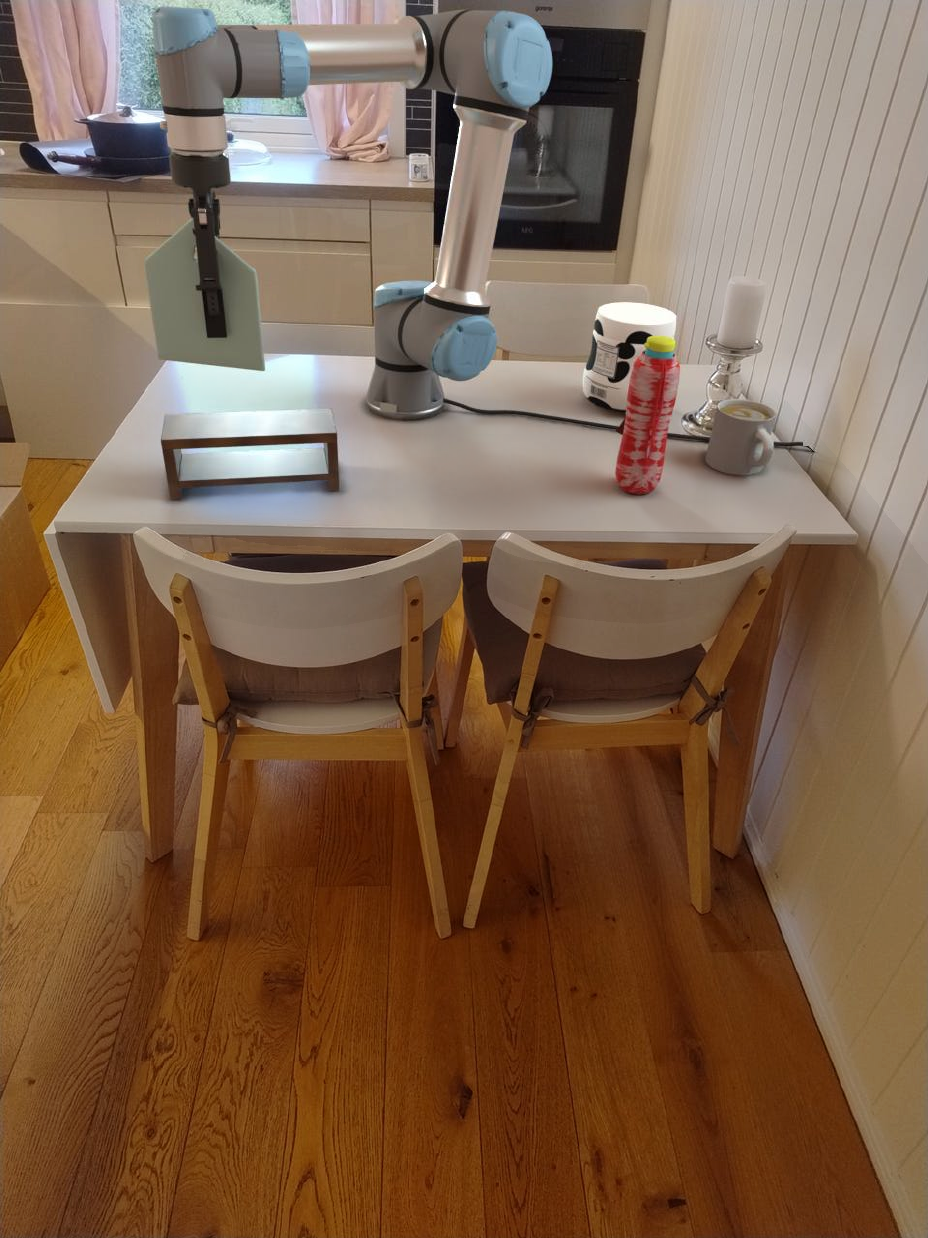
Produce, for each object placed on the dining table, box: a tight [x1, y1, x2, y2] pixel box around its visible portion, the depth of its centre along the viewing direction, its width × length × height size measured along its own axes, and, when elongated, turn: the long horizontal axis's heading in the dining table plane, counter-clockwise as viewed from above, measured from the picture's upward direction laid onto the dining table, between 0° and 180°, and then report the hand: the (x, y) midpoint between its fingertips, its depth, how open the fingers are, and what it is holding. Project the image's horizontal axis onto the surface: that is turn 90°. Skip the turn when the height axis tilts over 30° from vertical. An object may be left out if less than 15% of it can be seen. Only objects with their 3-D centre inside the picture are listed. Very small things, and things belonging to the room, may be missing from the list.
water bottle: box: [614, 335, 681, 495], centre depth 140 cm, size 12×8×25 cm, turn 0°
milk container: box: [582, 301, 677, 414], centre depth 171 cm, size 17×17×18 cm
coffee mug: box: [705, 398, 777, 476], centre depth 151 cm, size 13×10×10 cm
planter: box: [143, 218, 266, 372], centre depth 124 cm, size 16×8×20 cm, turn 80°
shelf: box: [160, 408, 341, 501], centre depth 138 cm, size 26×10×10 cm, turn 102°
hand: (217, 326), depth 126 cm, fingers closed on planter, 9 cm apart
